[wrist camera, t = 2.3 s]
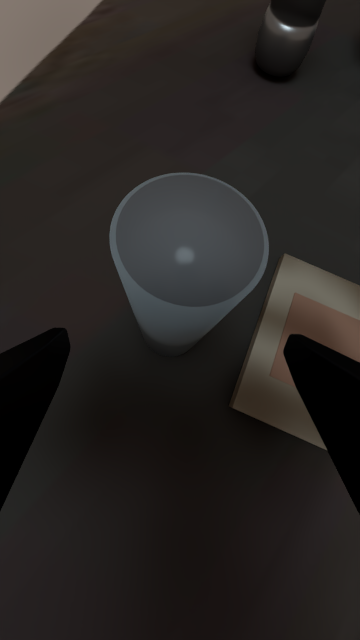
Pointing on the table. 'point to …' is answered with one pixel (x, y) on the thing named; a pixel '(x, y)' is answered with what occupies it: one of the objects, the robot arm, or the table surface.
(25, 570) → the table surface
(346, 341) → the beige flat rectangular panel
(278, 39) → the plastic bottle
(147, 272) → the grey flared tumbler
